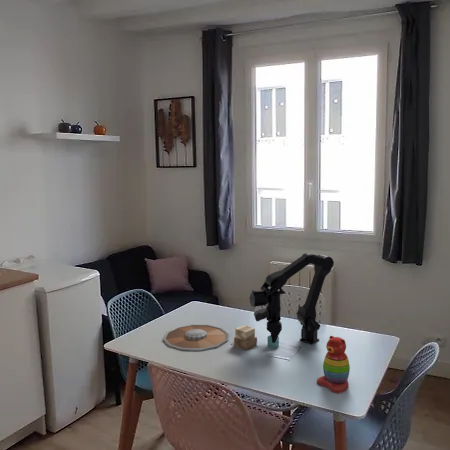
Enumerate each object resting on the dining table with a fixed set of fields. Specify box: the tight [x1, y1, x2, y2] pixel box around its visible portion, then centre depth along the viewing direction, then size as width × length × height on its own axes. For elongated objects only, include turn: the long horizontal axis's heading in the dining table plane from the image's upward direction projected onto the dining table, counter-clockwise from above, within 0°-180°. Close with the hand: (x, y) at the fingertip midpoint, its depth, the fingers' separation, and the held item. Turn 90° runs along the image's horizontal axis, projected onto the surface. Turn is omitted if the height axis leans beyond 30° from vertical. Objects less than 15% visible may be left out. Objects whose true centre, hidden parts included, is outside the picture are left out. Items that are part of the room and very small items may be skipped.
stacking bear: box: [316, 335, 351, 394], centre depth 172 cm, size 11×10×18 cm
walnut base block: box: [233, 336, 258, 351], centre depth 208 cm, size 7×7×4 cm
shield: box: [162, 323, 229, 352], centre depth 217 cm, size 30×3×30 cm
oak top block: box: [234, 324, 256, 341], centre depth 207 cm, size 6×6×4 cm
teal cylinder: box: [266, 334, 280, 349], centre depth 207 cm, size 5×5×4 cm
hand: (273, 338), depth 207 cm, fingers open, 9 cm apart
